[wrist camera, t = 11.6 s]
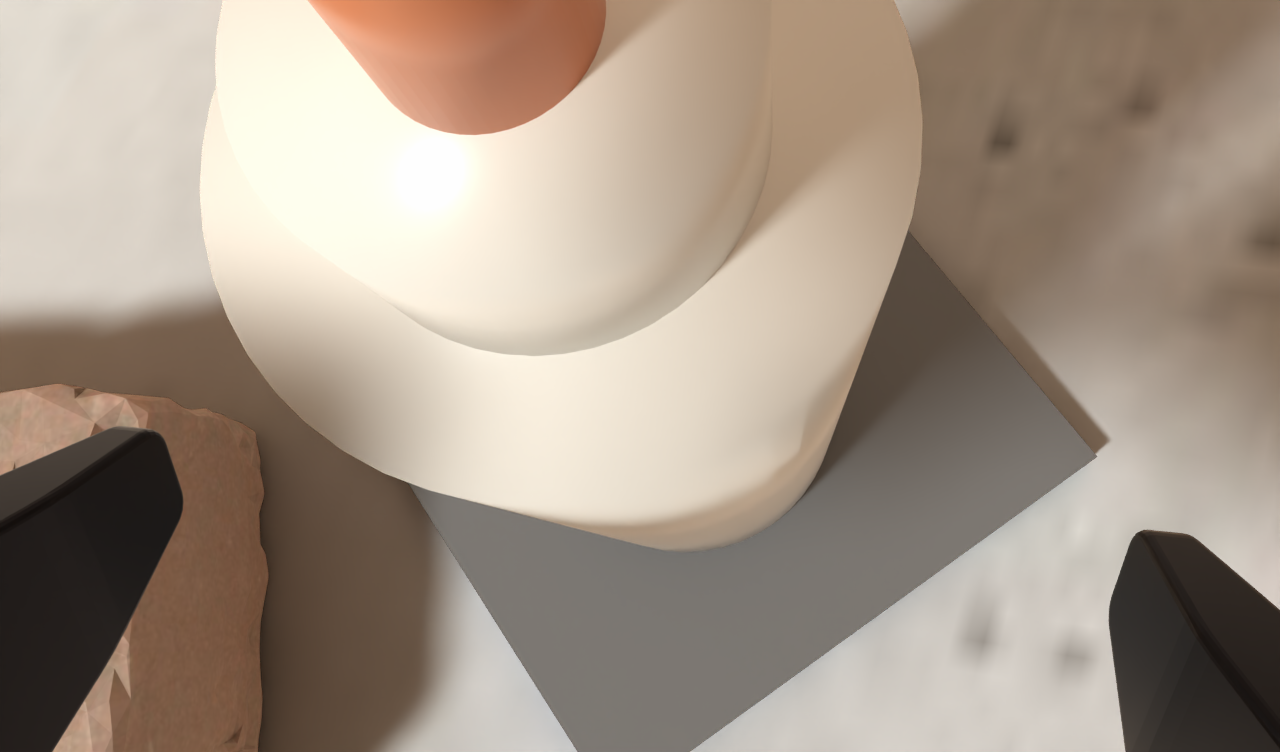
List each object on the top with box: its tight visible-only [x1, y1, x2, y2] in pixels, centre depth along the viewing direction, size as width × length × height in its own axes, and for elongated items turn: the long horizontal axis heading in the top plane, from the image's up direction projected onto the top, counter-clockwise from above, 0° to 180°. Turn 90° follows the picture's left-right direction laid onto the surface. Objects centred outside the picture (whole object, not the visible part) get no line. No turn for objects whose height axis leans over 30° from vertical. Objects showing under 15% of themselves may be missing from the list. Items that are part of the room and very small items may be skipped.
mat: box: [407, 231, 1097, 752], centre depth 18 cm, size 10×10×1 cm
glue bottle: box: [200, 0, 923, 552], centre depth 11 cm, size 5×5×14 cm
